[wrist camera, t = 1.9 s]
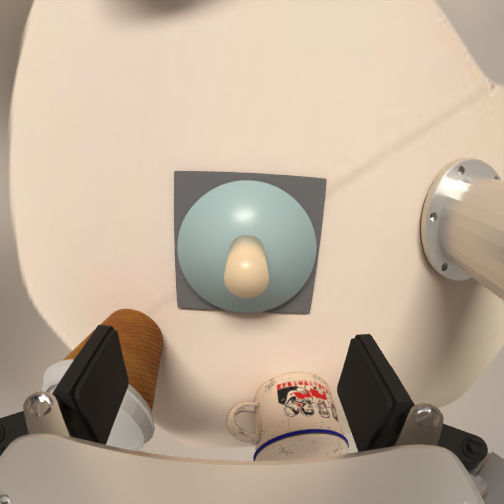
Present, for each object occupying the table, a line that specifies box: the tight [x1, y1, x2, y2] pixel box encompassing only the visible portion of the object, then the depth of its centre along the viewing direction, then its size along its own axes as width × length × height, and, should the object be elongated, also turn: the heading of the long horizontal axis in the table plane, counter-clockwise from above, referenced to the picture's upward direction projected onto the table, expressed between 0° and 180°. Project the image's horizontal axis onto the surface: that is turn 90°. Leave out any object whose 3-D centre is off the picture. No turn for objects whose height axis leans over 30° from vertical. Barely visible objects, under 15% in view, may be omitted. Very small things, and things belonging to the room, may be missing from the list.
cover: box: [177, 180, 316, 313], centre depth 22 cm, size 11×11×6 cm
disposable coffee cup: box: [42, 309, 163, 451], centre depth 22 cm, size 10×10×12 cm
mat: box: [174, 171, 326, 313], centre depth 25 cm, size 12×12×1 cm
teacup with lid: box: [226, 372, 349, 461], centre depth 25 cm, size 12×9×12 cm
